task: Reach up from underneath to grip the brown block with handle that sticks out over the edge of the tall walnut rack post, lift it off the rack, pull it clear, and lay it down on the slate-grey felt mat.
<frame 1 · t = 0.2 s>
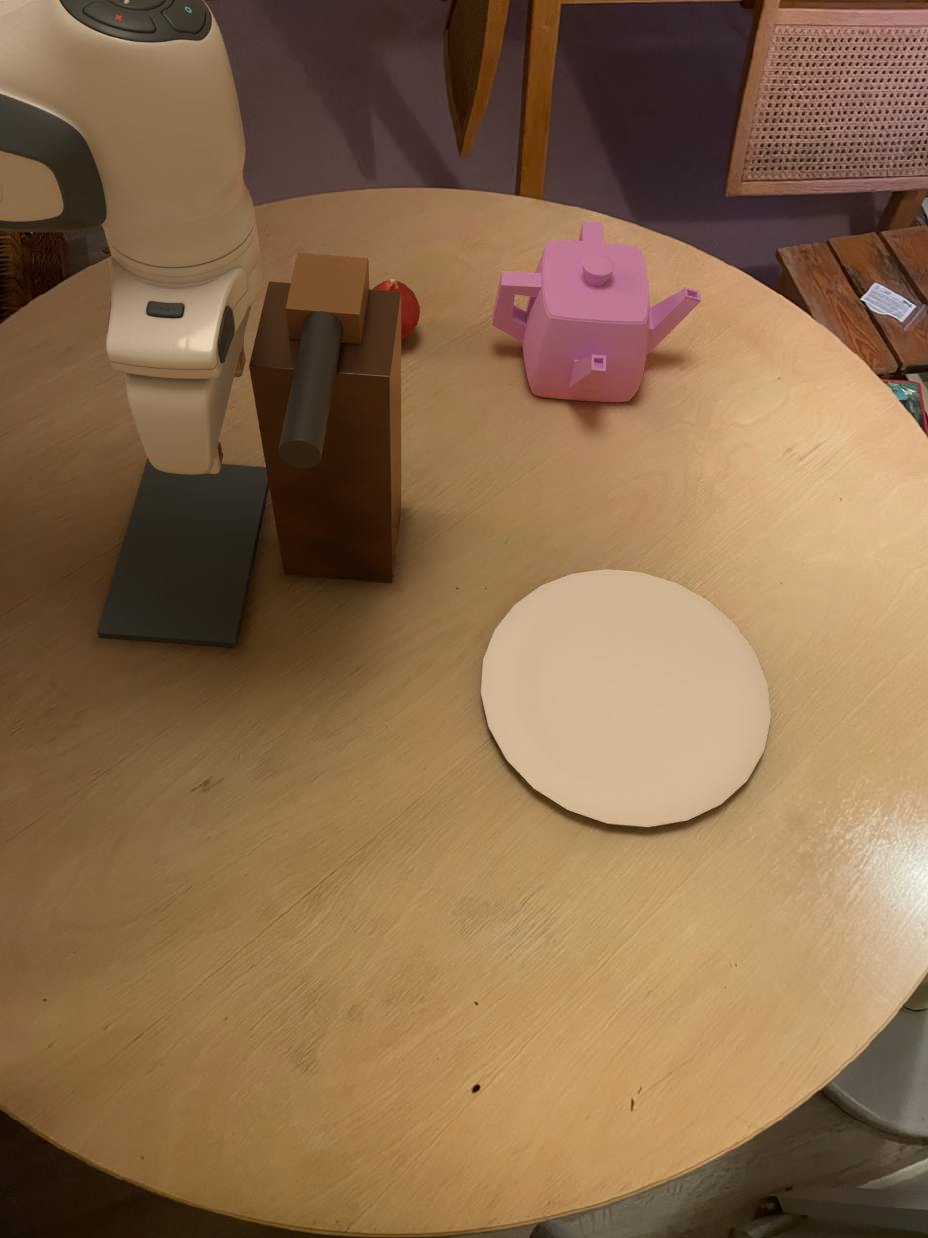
hand: (221, 416, 75), 22 cm above the table, tool pointing down, fingers open, 8 cm apart
rack post: (344, 540, 98), on the table
brown block with handle: (319, 371, 73), point 26 cm above the table, touching rack post
plate: (622, 697, 90), on the table
onion: (392, 339, 113), on the table
felt mat: (190, 550, 96), on the table
teakettle: (585, 361, 112), on the table
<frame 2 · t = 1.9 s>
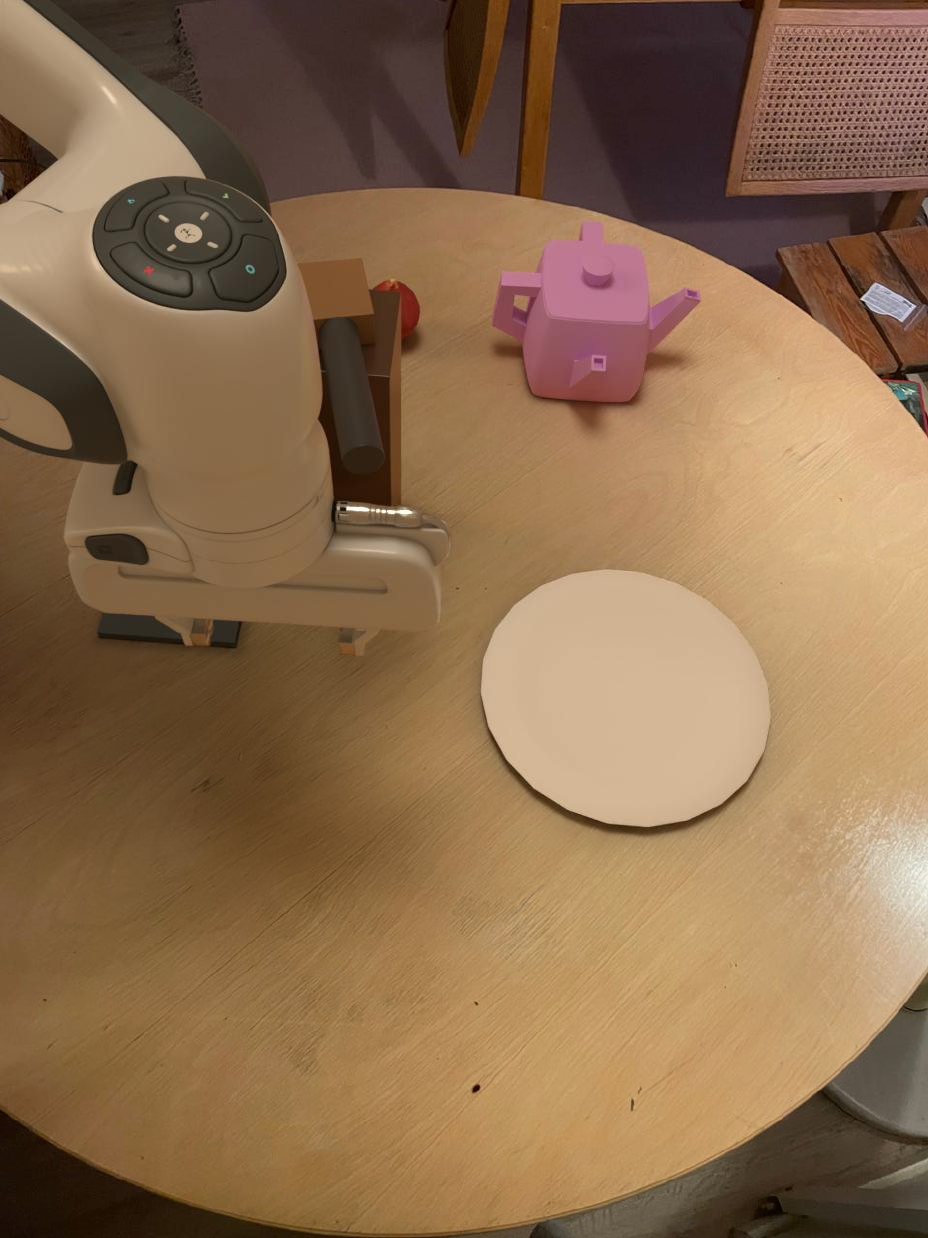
hand: (276, 641, 64), 24 cm above the table, tool pointing down, fingers open, 8 cm apart
brown block with handle: (345, 377, 73), point 26 cm above the table, touching rack post
everything else where it was.
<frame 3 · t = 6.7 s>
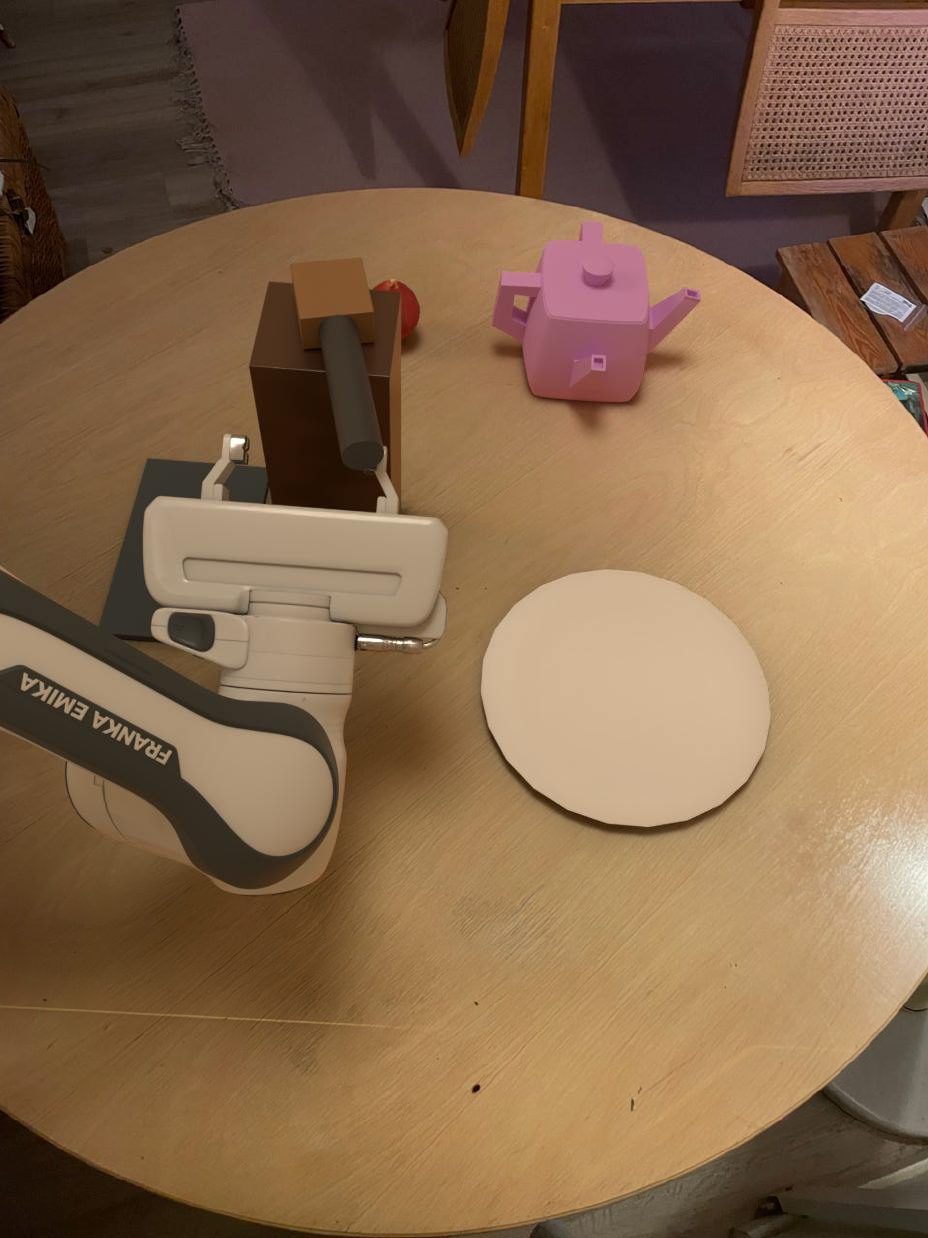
hand: (306, 441, 70), 26 cm above the table, tool pointing upward, fingers open, 8 cm apart
brown block with handle: (345, 375, 73), point 26 cm above the table, touching gripper, rack post
everything else where it was.
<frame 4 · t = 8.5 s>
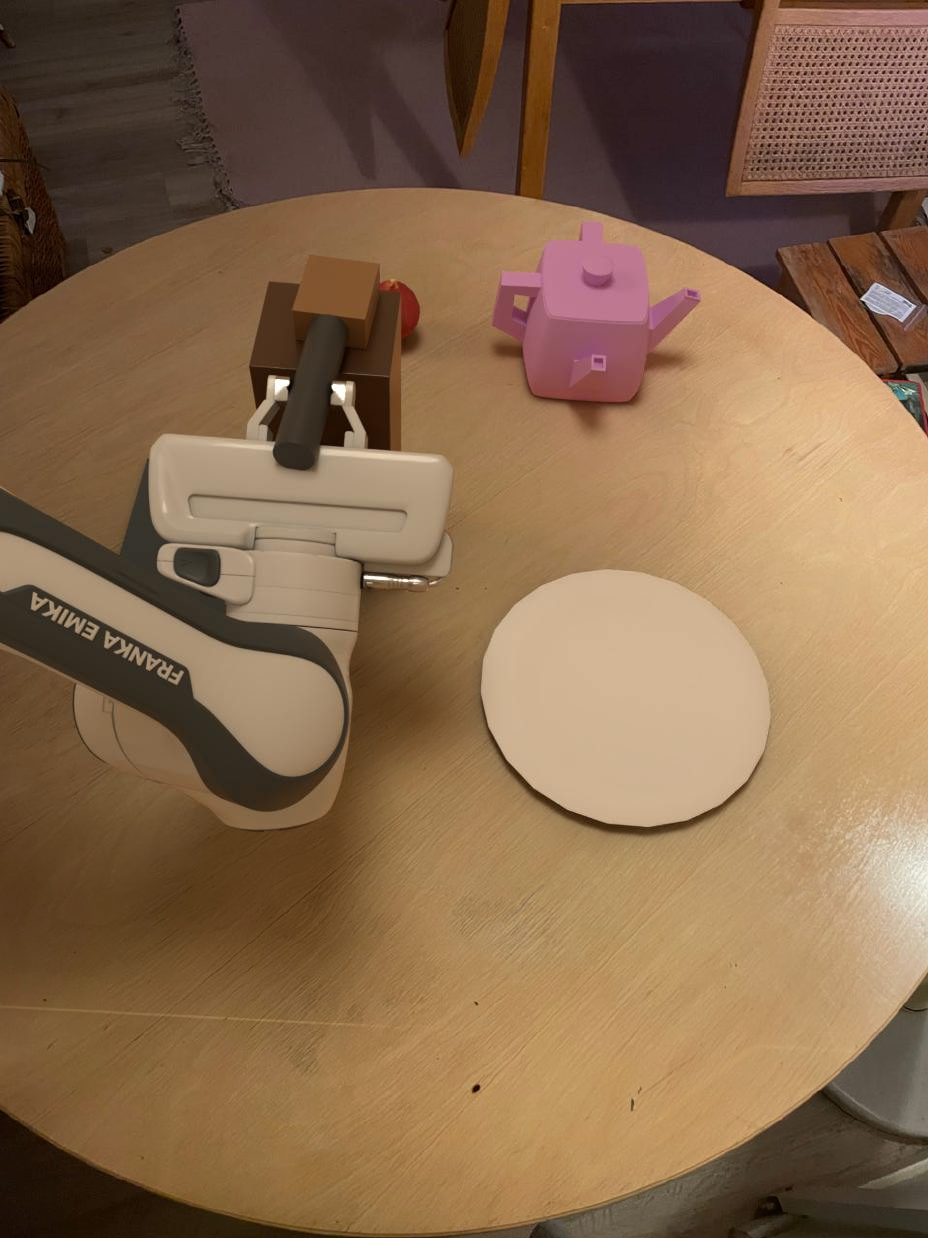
hand: (312, 380, 70), 28 cm above the table, tool pointing upward, fingers closed on brown block with handle, 3 cm apart
brown block with handle: (322, 374, 73), point 26 cm above the table, touching gripper
everything else where it was.
when the fingers open (6 cm above the table, at t = 22.5 s): brown block with handle drops 3 cm, resting on felt mat.
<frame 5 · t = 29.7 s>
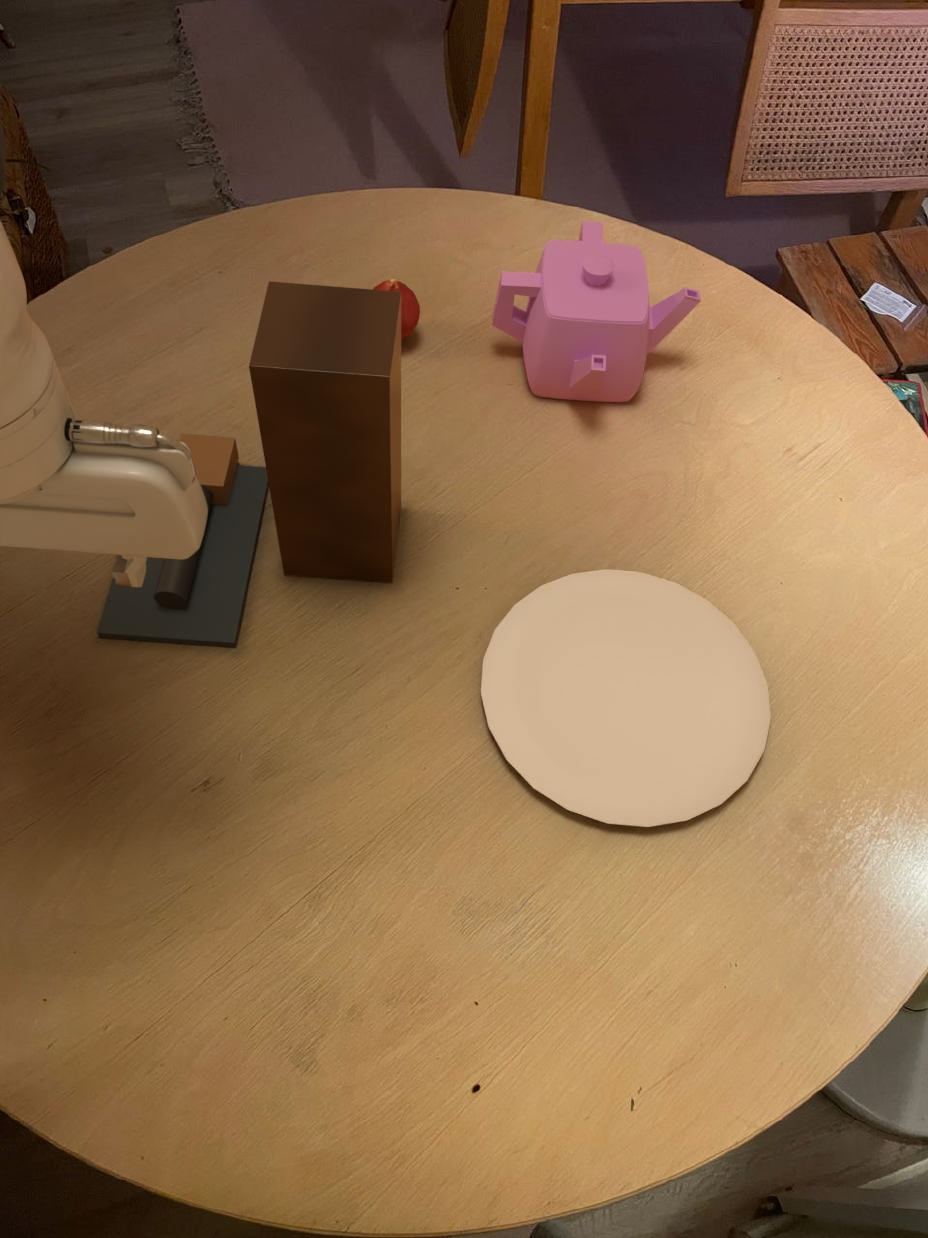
hand: (56, 572, 64), 25 cm above the table, tool pointing down, fingers open, 8 cm apart
brown block with handle: (193, 528, 96), point 1 cm above the table, touching felt mat
everything else where it was.
at the end: brown block with handle inside the target area on the felt mat (2.0 cm from its centre), point 0.8 cm above the felt mat's base; the gripper is holding nothing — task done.
